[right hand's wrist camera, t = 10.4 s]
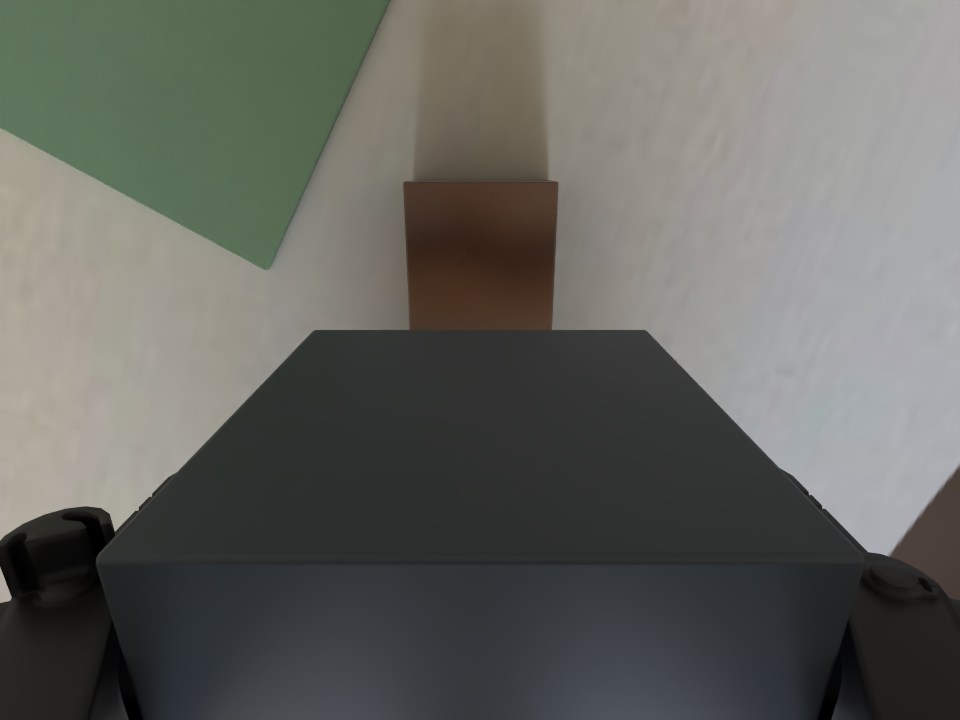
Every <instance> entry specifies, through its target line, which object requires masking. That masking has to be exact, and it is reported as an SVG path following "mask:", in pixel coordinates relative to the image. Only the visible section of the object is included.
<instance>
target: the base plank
mask: <svg viewBox="0 0 960 720" xmlns="http://www.w3.org/2000/svg"><path fill="white" fill-rule="evenodd" d="M403 186H404V209H405V232H406V254H407V277H408V300H409V322H410V330H552V314H553V292H554V270H555V248H556V226H557V204H558V182H556V181H550V180H412V181H406V182H404V183H403Z"/></svg>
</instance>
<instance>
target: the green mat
mask: <svg viewBox="0 0 960 720" xmlns="http://www.w3.org/2000/svg"><path fill="white" fill-rule="evenodd" d="M389 1H390V0H0V128H2V129H4V130H5V131H7V132H9V133H11V134H13V135H15V136H17V137H18V138H20V139H22V140H24V141H26V142H28V143H30V144H31V145H33V146H35V147H37V148H39V149H41V150H43V151H45V152H46V153H48V154H50V155H52V156H54V157H56V158H58V159H59V160H61V161H63V162H65V163H67V164H69V165H71V166H73V167H74V168H76V169H78V170H80V171H82V172H84V173H86V174H87V175H89V176H91V177H93V178H95V179H97V180H99V181H100V182H102V183H104V184H106V185H108V186H110V187H112V188H114V189H115V190H117V191H119V192H121V193H123V194H125V195H127V196H128V197H130V198H132V199H134V200H136V201H138V202H140V203H141V204H143V205H145V206H147V207H149V208H151V209H153V210H155V211H156V212H158V213H160V214H162V215H164V216H166V217H168V218H169V219H171V220H173V221H175V222H177V223H179V224H181V225H182V226H184V227H186V228H188V229H190V230H192V231H194V232H196V233H197V234H199V235H201V236H203V237H205V238H207V239H209V240H210V241H212V242H214V243H216V244H218V245H220V246H222V247H223V248H225V249H227V250H229V251H231V252H233V253H235V254H237V255H238V256H240V257H242V258H244V259H246V260H248V261H250V262H251V263H253V264H255V265H257V266H259V267H261V268H263V269H264V270H268V269H269V268H270V266H271V263H272V261H273V259H274V257H275V255H276V252H277V250H278V248H279V246H280V243H281V241H282V239H283V237H284V235H285V232H286V230H287V228H288V226H289V223H290V221H291V219H292V217H293V215H294V212H295V210H296V208H297V206H298V203H299V201H300V199H301V197H302V195H303V192H304V190H305V188H306V186H307V183H308V181H309V179H310V177H311V175H312V172H313V170H314V168H315V166H316V163H317V161H318V159H319V157H320V155H321V152H322V150H323V148H324V146H325V143H326V141H327V139H328V137H329V134H330V132H331V130H332V128H333V126H334V123H335V121H336V119H337V117H338V114H339V112H340V110H341V108H342V106H343V103H344V101H345V99H346V97H347V94H348V92H349V90H350V88H351V86H352V83H353V81H354V79H355V77H356V74H357V72H358V70H359V68H360V66H361V63H362V61H363V59H364V57H365V54H366V52H367V50H368V48H369V46H370V43H371V41H372V39H373V37H374V34H375V32H376V30H377V28H378V26H379V23H380V21H381V19H382V17H383V14H384V12H385V10H386V8H387V6H388V3H389Z"/></svg>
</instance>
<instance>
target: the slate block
mask: <svg viewBox="0 0 960 720" xmlns="http://www.w3.org/2000/svg"><path fill="white" fill-rule="evenodd" d="M864 565H865V560H864V557H863V554H862V553H861V552H860V551H859V550H858V549H857V548H856V547H855V546H854V545H853V544H852V543H851V542H850V541H849V540H848V539H847V538H846V537H845V536H844V535H843V533H842V532H841V531H840V530H839V529H838V528H837V527H836V526H835V525H834V524H833V523H832V522H831V521H830V520H829V519H828V518H827V517H826V516H825V515H824V514H823V513H822V512H821V511H820V510H819V509H818V508H817V507H816V506H815V505H814V503H813V502H812V501H811V500H810V499H809V498H808V497H807V496H806V495H805V494H804V493H803V492H802V491H801V490H800V489H799V488H798V487H797V486H796V485H795V484H794V483H793V482H792V481H791V480H790V479H789V478H788V477H787V476H786V475H785V474H784V472H783V471H782V470H781V469H780V468H779V467H778V466H777V465H776V464H775V463H774V462H773V461H772V460H771V459H770V458H769V457H768V456H767V455H766V454H765V453H764V452H763V451H762V450H761V449H760V448H759V447H758V446H757V445H756V444H755V443H754V441H753V440H752V439H751V438H750V437H749V436H748V435H747V434H746V433H745V432H744V431H743V430H742V429H741V428H740V427H739V426H738V425H737V424H736V423H735V422H734V421H733V420H732V419H731V418H730V417H729V416H728V415H727V414H726V413H725V411H724V410H723V409H722V408H721V407H720V406H719V405H718V404H717V403H716V402H715V401H714V400H713V399H712V398H711V397H710V396H709V395H708V394H707V393H706V392H705V391H704V390H703V389H702V388H701V387H700V386H699V385H698V384H697V383H696V382H695V380H694V379H693V378H692V377H691V376H690V375H689V374H688V373H687V372H686V371H685V370H684V369H683V368H682V367H681V366H680V365H679V364H678V363H677V362H676V361H675V360H674V359H673V358H672V357H671V356H670V355H669V354H668V353H667V352H666V350H665V349H664V348H663V347H662V346H661V345H660V344H659V343H658V342H657V341H656V340H655V339H654V338H653V337H652V336H651V335H650V334H649V333H648V332H647V331H645V330H315V331H313V332H312V333H311V334H310V335H309V336H308V337H307V338H306V339H305V340H304V341H303V342H302V343H301V344H300V345H299V347H298V348H297V349H296V350H295V351H294V352H293V353H292V354H291V355H290V356H289V357H288V358H287V359H286V360H285V361H284V362H283V363H282V364H281V365H280V366H279V367H278V368H277V369H276V370H275V371H274V372H273V373H272V375H271V376H270V377H269V378H268V379H267V380H266V381H265V382H264V383H263V384H262V385H261V386H260V387H259V388H258V389H257V390H256V391H255V392H254V393H253V394H252V395H251V396H250V397H249V398H248V399H247V400H246V401H245V403H244V404H243V405H242V406H241V407H240V408H239V409H238V410H237V411H236V412H235V413H234V414H233V415H232V416H231V417H230V418H229V419H228V420H227V421H226V422H225V423H224V424H223V425H222V426H221V427H220V428H219V429H218V430H217V432H216V433H215V434H214V435H213V436H212V437H211V438H210V439H209V440H208V441H207V442H206V443H205V444H204V445H203V446H202V447H201V448H200V449H199V450H198V451H197V452H196V453H195V454H194V455H193V456H192V457H191V458H190V460H189V461H188V462H187V463H186V464H185V465H184V466H183V467H182V468H181V469H180V470H179V471H178V472H177V473H176V474H175V475H174V476H173V477H172V478H171V479H170V480H169V481H168V482H167V483H166V484H165V485H164V486H163V488H162V489H161V490H160V491H159V492H158V493H157V494H156V495H155V496H154V497H153V498H152V499H151V500H150V501H149V502H148V503H147V504H146V505H145V506H144V507H143V508H142V509H141V510H140V511H139V512H138V513H137V514H136V516H135V517H134V518H133V519H132V520H131V521H130V522H129V523H128V524H127V525H126V526H125V527H124V528H123V529H122V530H121V531H120V532H119V533H118V534H117V535H116V536H115V537H114V538H113V539H112V540H111V541H110V542H109V544H108V545H107V546H106V547H105V548H104V549H103V550H102V551H101V552H100V553H99V554H98V556H97V558H96V567H97V570H98V573H99V577H100V580H101V583H102V587H103V590H104V593H105V597H106V600H107V603H108V607H109V610H110V613H111V617H112V620H113V623H114V627H115V630H116V633H117V636H118V640H119V643H120V646H121V650H122V653H123V656H124V660H125V663H126V666H127V670H128V673H129V676H130V680H131V683H132V686H133V690H134V693H135V696H136V700H137V703H138V706H139V710H140V713H141V716H142V720H818V718H819V715H820V711H821V708H822V705H823V701H824V698H825V695H826V691H827V688H828V685H829V681H830V678H831V675H832V671H833V668H834V665H835V661H836V658H837V655H838V651H839V648H840V645H841V642H842V638H843V635H844V632H845V628H846V625H847V622H848V618H849V615H850V612H851V608H852V605H853V602H854V598H855V595H856V592H857V588H858V585H859V582H860V578H861V575H862V572H863V568H864Z"/></svg>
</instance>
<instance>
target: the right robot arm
mask: <svg viewBox="0 0 960 720" xmlns="http://www.w3.org/2000/svg"><path fill="white" fill-rule="evenodd" d="M781 470H782V469H781ZM782 471H783V472H784V474H785V475H786V476H787V477H788V478H789V479H790V480H791V481H792V482H793V483H794V484H795V485H796V486H797V487H798V488H799V489H800V490H801V491H802V492H803V493H804V494H805V495H806V496H807V497H808V498H809V499H810V500H811V501H812V502H813V503H814V505H815V506H816V507H817V508H818V509H819V510H820V511H821V512H822V513H823V514H824V515H825V516H826V517H827V518H828V519H829V520H830V521H831V522H832V523H833V524H834V525H835V526H836V527H837V528H838V529H839V530H840V531H841V532H842V533H843V535H844V536H845V537H846V538H847V539H848V540H849V541H850V542H851V543H852V544H853V545H854V546H855V547H856V548H857V549H858V550H859V551H860V552H861V553H862V554H863V557H864V560H865V565H864V568H863V572H862V575H861V578H860V582H859V585H858V588H857V592H856V595H855V598H854V602H853V605H852V608H851V612H850V615H849V618H848V622H847V625H846V628H845V632H844V635H843V638H842V642H841V645H840V648H839V651H838V655H837V658H836V661H835V665H834V668H833V671H832V675H831V678H830V681H829V685H828V688H827V691H826V695H825V698H824V701H823V705H822V708H821V711H820V715H819V718H818V720H960V601H959V600H954V599H950V598H949V597H948V596H947V595H946V593H945V592H944V591H943V590H942V588H941V587H940V586H939V584H938V583H936V582H935V581H934V580H932V579H931V578H930V577H928V576H927V575H926V574H925V573H923V572H922V571H920V570H918V569H916V568H914V567H912V566H910V565H908V564H907V563H905V562H903V561H900V560H897V559H894V558H891V557H888V556H885V555H882V554H877V553H869V552H867V551H866V550H865V549H864V548H863V547H862V546H861V545H860V544H859V543H858V542H857V541H856V540H855V539H854V538H853V537H852V536H851V535H850V534H849V533H848V532H847V531H846V530H845V528H844V527H843V526H842V525H841V524H840V523H839V522H838V521H837V520H836V519H835V518H834V517H833V516H832V515H831V514H830V513H829V512H828V511H827V510H826V509H822V505H821V504H820V503H819V502H818V501H817V500H816V499H815V498H814V497H813V496H812V495H809V492H808V491H807V490H806V489H805V488H804V487H803V486H802V485H801V484H800V483H799V482H798V481H797V480H796V479H795V478H794V477H793V476H792V475H790V474H789V473H787V472H785V471H784V470H782ZM175 474H176V473H175ZM175 474H173V475H172V476H170V477H168V478H167V479H166V480H165V481H164V482H163V483H162V484H161V485H160V486H159V487H158V488H157V490H156V491H155V492H154V493H153V494H152V497H149V498H148V499H147V500H146V501H145V502H144V503H143V504H142V505H141V506H140V507H139V511H140V510H141V509H142V508H143V507H144V506H145V505H146V504H147V503H148V502H149V501H150V500H151V499H152V498H153V497H154V496H155V495H156V494H157V493H158V492H159V491H160V490H161V489H162V488H163V486H164V485H165V484H166V483H167V482H168V481H169V480H170V479H171V478H172V477H173V476H174V475H175ZM139 511H135V512H134V513H133V514H132V515H131V516H130V517H129V518H128V519H127V520H126V521H125V522H124V523H123V524H122V525H121V526H120V527H119V528H118V529H117V530H116V532H115V531H114V528H113V524H112V521H111V517H110V514H109V513H107V512H106V511H104V510H103V509H101V508H95V507H86V506H85V507H76V508H68V509H63V510H60V511H56V512H52V513H49V514H45V515H43V516H40V517H38V518H36V519H34V520H31V521H29V522H27V523H24V524H22V525H21V526H19V527H18V528H16V529H15V530H13V531H12V532H10V533H9V534H7V535H6V536H4V537H3V538H2V540H1V541H0V567H1V570H2V573H3V575H4V578H5V581H6V583H7V586H8V588H9V591H10V594H11V596H12V599H11V601H8V602H3V603H0V720H142V716H141V713H140V710H139V706H138V703H137V700H136V696H135V693H134V690H133V686H132V683H131V680H130V676H129V673H128V670H127V666H126V663H125V660H124V656H123V653H122V650H121V646H120V643H119V640H118V636H117V633H116V630H115V627H114V623H113V620H112V617H111V613H110V610H109V607H108V603H107V600H106V597H105V593H104V590H103V587H102V583H101V580H100V577H99V573H98V570H97V567H96V558H97V556H98V554H99V553H100V552H101V551H102V550H103V549H104V548H105V547H106V546H107V545H108V544H109V542H110V541H111V540H112V539H113V538H114V537H115V536H116V535H117V534H118V533H119V532H120V531H121V530H122V529H123V528H124V527H125V526H126V525H127V524H128V523H129V522H130V521H131V520H132V519H133V518H134V517H135V516H136V514H137V513H138V512H139Z"/></svg>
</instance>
